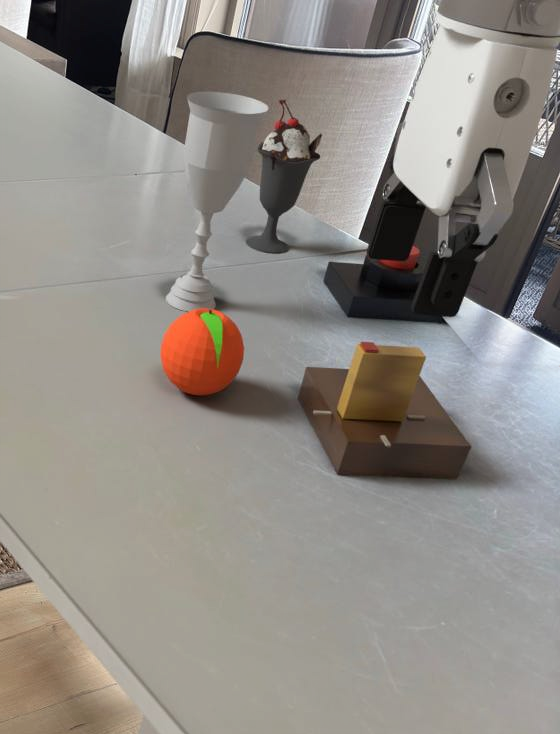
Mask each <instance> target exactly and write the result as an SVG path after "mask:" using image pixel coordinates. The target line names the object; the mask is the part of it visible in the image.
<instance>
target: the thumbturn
mask: <svg viewBox="0 0 560 734" xmlns="http://www.w3.org/2000/svg"><path fill="white" fill-rule="evenodd" d="M426 359H427V356H426V354H425V353H424V352H423V351H422V349H421V348H420V347H417V346H399V345H386V344H385V345H383V344H375V342H373V341H360V343H357V344H356V346H355V349H354V352H353V356H352V359H351V363H350V365H349V368H348V369H349V371H348V375H347V378H346V381H345V384H344V388H343V391H342V394H341V397H340V400H339V404H338V407H337V410H338V412H339V413H340V415H341V417H342V418H343V419H359V420H381V421H403V419H404V416H405V414H406V411H407V408H408V405H409V403H410V400H411V397H412V394H413V392H414V389H415V386H416V384H417V381H418V378H419V376H421V373H422V370H423V367H424V364H425V361H426Z"/></svg>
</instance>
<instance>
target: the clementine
mask: <svg viewBox="0 0 560 734" xmlns="http://www.w3.org/2000/svg"><path fill="white" fill-rule="evenodd" d="M243 339H244V338H243V335H242V333H241V331H240V329H239V328H238V325H236V323H235V322H234V321H233V320H232V319H231V318H230V317H229V316H228V315H226V313H223V312H221V311H219V310H216V309H207V308H200V309H195V310H192V311H190V312H188V311H186V312H184V313H183V314H181V315H180V316H179V317H177V318H176V319H175V320H174V321H172V322H171V323H170V325H169V327H168V328H167V330H166V331H165V333H164V335H163V338H162V341H161V345H160V361H161V366H162V370H163V372H164V374H165V375H166V377H167V378H168V380H169V382H170V383H171V384H173V386H175V387H176V388H177V389H178V390H180V391H182V392H184V393H186V394H188V395H192V396H193V395H194V396H209V395H212V394H215V393H218V392H220V391H222V390H223V389H225V388H226V387H228V386H229V385H230V384H231V383H232V382H233V381H234V379H236V377H237V375H238V374H239V372H240V371H241V367H242V365H243V361H244V355H245V345H244V340H243Z"/></svg>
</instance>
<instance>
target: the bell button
mask: <svg viewBox="0 0 560 734" xmlns="http://www.w3.org/2000/svg"><path fill="white" fill-rule="evenodd" d="M420 251H421V250H420V249H419V248H418V247H416V246H414V245H413V247H412V250H411V252H410V255H409V258H408V259H407V260H406V261H392V260H380V261H381V262H382V263H384V264H386V265H388V266H391V267H395V268H399V269H409V270H410V269H414V268H415V265H416V262H417V259H418V257H419V256H420V253H421V252H420Z"/></svg>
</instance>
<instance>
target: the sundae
mask: <svg viewBox="0 0 560 734" xmlns="http://www.w3.org/2000/svg"><path fill="white" fill-rule="evenodd" d="M286 101H287V100H286V99H279V100H278V103H279V104H280V105H281V107H282V113H281V117H280V119H279V120H278V121H276V122H275V123H274V130H273V131H271V133H269V134H268V135H267V136H266V137H265V139H264V141H262V142H260V143H259V144H258V146H257V149H256V151H257V152H258V153H259V154H260V155H261V173H260V181H259V182H260V183H259V202H260V204H261V205H262V208H263V209H264V210H265V212H267V220H266V224H265V226H264V229H263V231H262V233H261V234H259V235H253V236H249V237H247V238H246V240H245V243H246V245H247V246H248V247H249V248H251V249H252V250H255V251H258V252H262V253H265V254H283V253H286V252H288V250H289V249H290V248H289V245H288V244H287V243H286V242H285V241H284V240H281V239H279V238H278V235H277V227H278V223H279V219H280V217H281V216H282V215H283V214H285V213H287V212H289V211H290V210H291V209H292V208H293V207H295V205H296V203H297V200H298V199H299V196H300V193H301V191H302V189H303V185H304V183H305V180H306V177H307V175H308V172H309V170H310V168H311V166H312V164H313V163H314V162H316V161H318V160H320V158H321V154H319V153H318V152H316V150H317V149H318V147H319V145H320V143H321V141H322V137H323V134H322V133H319V134H318V135H317V136H316V137H315V138H314V139H313V140H312V141H311V135H310V133H309V131H308V130H307V128H306V127H305V125H303V124H301V123H300V121H299V119H298V118H297V117H294V116H293V114H292V112H291V111H290V109H289V107H288V104H287V103H286ZM284 105H285V106H284ZM285 107H286V109H287V112H288V114H289V116H290V118H289V119H288V121H287V123H286V122H285V120H283V119H284V117H285Z"/></svg>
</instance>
